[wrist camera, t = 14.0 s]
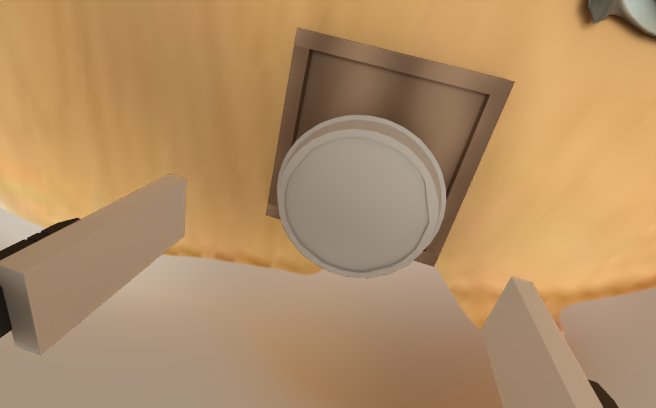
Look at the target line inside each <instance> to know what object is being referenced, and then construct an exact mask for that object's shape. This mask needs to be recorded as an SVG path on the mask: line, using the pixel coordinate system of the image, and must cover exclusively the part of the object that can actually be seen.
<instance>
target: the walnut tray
mask: <svg viewBox="0 0 656 408" xmlns="http://www.w3.org/2000/svg"><path fill="white" fill-rule="evenodd" d="M513 85H514V81H510V80H506V79H502V78H498V77H494V76H490V75H486V74H482V73H478V72H474V71H470V70H466V69H462V68H458V67H454V66H450V65H446V64H442V63H438V62H434V61H430V60H426V59H422V58H418V57H413V56H409V55H405V54H401V53H397V52H393V51H389V50H385V49H381V48H377V47H373V46H369V45H365V44H361V43H357V42H353V41H349V40H345V39H341V38H337V37H333V36H329V35H325V34H321V33H317V32H313V31H309V30H305V29H301V28H297V32H296V38H295V44H294V50H293V56H292V62H291V68H290V74H289V80H288V86H287V92H286V98H285V104H284V110H283V116H282V122H281V128H280V134H279V140H278V146H277V152H276V158H275V164H274V170H273V176H272V182H271V188H270V194H269V200H268V206H267V212H266V215H268V216H271V217H274V218H277V219H281V218H280V215H279V207H278V198H277V182H278V176H279V171H280V169H281V166H282V163H283V161H284V159H285V157H286V155H287V153H288V151H289V150H290V149H291V147H292V146H293V145H294V143H295V142H296V141H297V140H298V139H299V138H300V137H301V136H302V135H303V134H304V133H305V132H307V131H309V130H310V129H312V128H313V127H315V126H316V125H318V124H320V123H322V122H324V121H327V120H330V119H333V118H337V117H341V116H345V115H369V116H375V117H383V118H386V119H389V120H391V121H393V122H395V123H396V124H398V125H400V126H403V127H405V128H406V129H407V130H409V131H410V132H411V133H413V134H414V135H415V136H417V137H418V138H419V139H420V140H422V142H423V143H424V144H425V145H426V146H427V148H428V149H429V150H430V151H431V152H432V154H433V155H434V157H435V159H436V160H437V162H438V164H439V167H440V169H441V171H442V174H443V178H444V183H445V187H446V207H445V213H444V218H443V220H442V223H441V226H440V228H439V231H438V232H437V234H436V235H435V237H434V239H433V240H432V242H431V243H430V244H429V245H428V246H427V247H426V248H425V249H424V250H423V252H422V253H421V254H420V255H419V256H418V257H416V258H415V259H414V261H417V262H421V263H424V264H427V265H430V266H435V263H436V261H437V259H438V257H439V254H440V252H441V250H442V247H443V245H444V243H445V240H446V238H447V236H448V234H449V231H450V229H451V227H452V224H453V222H454V220H455V218H456V215H457V213H458V211H459V208H460V206H461V204H462V202H463V199H464V197H465V195H466V192H467V190H468V188H469V185H470V183H471V181H472V179H473V176H474V174H475V172H476V169H477V167H478V165H479V163H480V160H481V158H482V156H483V153H484V151H485V149H486V147H487V144H488V142H489V140H490V137H491V135H492V133H493V130H494V128H495V126H496V124H497V121H498V119H499V117H500V114H501V112H502V110H503V108H504V105H505V103H506V101H507V98H508V96H509V94H510V91H511V89H512V87H513Z"/></svg>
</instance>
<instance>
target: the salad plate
mask: <svg viewBox="0 0 656 408" xmlns="http://www.w3.org/2000/svg"><path fill="white" fill-rule="evenodd" d="M588 8H589V10H590V13H591V15H592V20H593V24H594V23H597V22H599V21H601V20H605V19H606V18H607V16H608V15H610V14H613V15H617V16H619V17H621V18H623V19H624V20H625V21H627V22H628V23H629V24H631V25H632V26H633V27H635V28H636V29H638V30H639V31H641V32H642V33H644V34H646V35H648V36H650V37H655V38H656V0H589V2H588Z"/></svg>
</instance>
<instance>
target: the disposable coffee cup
mask: <svg viewBox="0 0 656 408" xmlns="http://www.w3.org/2000/svg"><path fill="white" fill-rule="evenodd" d="M277 198H278V207H279V215H280V218H281V222H282V225H283V227H284V229H285V231H286V233H287V235H288V238H289V239H290V240H291V241H292V243H293V244H294V245H295V247H296V248H297V249H298V250H299V251H300V252H301V253H302V254H303V255H304V256H305V257H306V258H307V259H308V260H310V261H311V262H313V263H314V264H316V265H317V266H319V267H321V268H323V269H325V270H327V271H329V272H332V273H336V274H339V275H342V276H346V277H355V278H372V277H377V276H382V275H388V274H390V273H392V272H395V271H397V270H399V269H401V268H403V267H405V266H407V265H409V263H411V262H412V261H413V260H414V259H415V258H416V257H418V256H419V255H420V254H421V253H422V252H423V250H424V249H425V248H426V247H427V246H428V245H429V244H430V243H431V242H432V240H433V239H434V237H435V235H436V234H437V232H438V231H439V228H440V226H441V223H442V220H443V218H444V213H445V207H446V187H445V183H444V178H443V174H442V171H441V169H440V167H439V164H438V162H437V160H436V159H435V157H434V155H433V154H432V152H431V151H430V150H429V149H428V148H427V146H426V145H425V144H424V143H423V142H422V140H420V139H419V138H418V137H417V136H415V135H414V134H413V133H411V132H410V131H409V130H407V129H406V128H405V127H403V126H400V125H398V124H396V123H395V122H393V121H391V120H389V119H386V118H383V117H375V116H369V115H345V116H341V117H337V118H333V119H330V120H327V121H324V122H322V123H320V124H318V125H316V126H315V127H313V128H312V129H310V130H309V131H307V132H305V133H304V134H303V135H302V136H301V137H300V138H299V139H298V140H297V141H296V142H295V143H294V145H293V146H292V147H291V149H290V150H289V151H288V153H287V155H286V157H285V159H284V161H283V163H282V166H281V169H280V171H279V176H278V182H277Z"/></svg>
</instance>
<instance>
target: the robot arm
mask: <svg viewBox="0 0 656 408" xmlns="http://www.w3.org/2000/svg"><path fill="white" fill-rule="evenodd" d="M186 183H187V179H185V178H182V177H178V176H175V175H171V174H168V175H166V176H164V177H162V178H160V179H158V180H156V181H154V182H153V183H151V184H149V185H147V186H145V187H143V188H141V189H139V190H137V191H135V192H133V193H131V194H129V195H127V196H125V197H123V198H121V199H119V200H117V201H116V202H114V203H112V204H110V205H108V206H106V207H104V208H102V209H100V210H98V211H96V212H94V213H92V214H90V215H88V216H86V217H84V218H82V219H79V218H75V219H71V220H67V221H63V222H59V223H57V224H54V225H52V226H50V227H48V228H46V229H44V230H42V231H41V233H36V234H34V235H32V236H30V237H28V238H27V240H22V241H20V242H18V243H16V244H14V245H12V246H10V247H7V248H5V249H3V250H1V251H0V338H1V337H2V336H4V335H5V334H6V333H8V332H9V331H11V330H12V334H13V338H14V342H15V346H17V347H20V348H23V349H25V350H28V351H31V352H34V353H36V354H39V355H41V354H42V353H44V352H45V351H46V350H47V349H49V348H50V347H51V346H52V345H53V344H54V343H56V342H57V341H58V340H60V339H61V338H62V337H63V336H64V335H65V334H67V333H68V332H69V331H70V330H71V329H73V328H74V327H75V326H76V325H78V324H79V323H80V322H81V321H82V320H84V319H85V318H86V317H87V316H88V315H89V314H91V313H92V312H93V311H94V310H96V309H97V308H98V307H99V306H100V305H102V304H103V303H104V302H105V301H106V300H108V299H109V298H110V297H111V296H112V295H114V294H115V293H116V292H117V291H118V290H119V289H121V288H122V287H123V286H124V285H126V284H127V283H128V282H129V281H131V279H133V278H134V277H135V276H137V275H138V274H139V273H140V272H141V271H142V270H144V269H145V268H146V267H147V266H148V265H150V264H151V263H152V262H153V261H154V260H156V259H157V258H158V257H159V256H161V255H162V254H163V253H164V252H165V251H167V250H168V249H169V248H170V247H171V246H173V245H174V244H175V243H176V242H177V241H179V240H180V239H181V238H182V237H183V236H184V228H185V206H186ZM481 330H482V334H483V337H484V340H485V344H486V348H487V351H488V355H489V358H490V362H491V365H492V369H493V373H494V376H495V379H496V383H497V387H498V390H499V394H500V397H501V401H502V404H503V408H618V406H617V404H616V403H615V401H614V400H613V399H612V398H611V397H610V396H609V395H608V394H607V392H606V391H605V390H604V389H603V388H602V387H601V386H600V385H599V384H598V383H596V382H594V381H591V380H588V379H587V378H586V376H585V374H584V372H583V371H582V369H581V367H580V366H579V364H578V362H577V360H576V358H575V357H574V355H573V353H572V351H571V349H570V348H569V346H568V344H567V342H566V341H565V339H564V337H563V335H562V333H561V332H560V330H559V328H558V326H557V325H556V323H555V321H554V319H553V318H552V316H551V314H550V312H549V310H548V309H547V307H546V305H545V303H544V302H543V300H542V298H541V296H540V295H539V293H538V291H537V289H536V287H535V286H534V284H533V282H530V281H527V280H523V279H520V278H517V277H513V276H512V277H511V278H510V280H509V282H508V284H507V285H506V287H505V289H504V291H503V292H502V294H501V296H500V298H499V299H498V301H497V303H496V305H495V306H494V308H493V310H492V312H491V313H490V315H489V317H488V319H487V320H486V322H485V324H484V326H483V327H482V329H481Z"/></svg>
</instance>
